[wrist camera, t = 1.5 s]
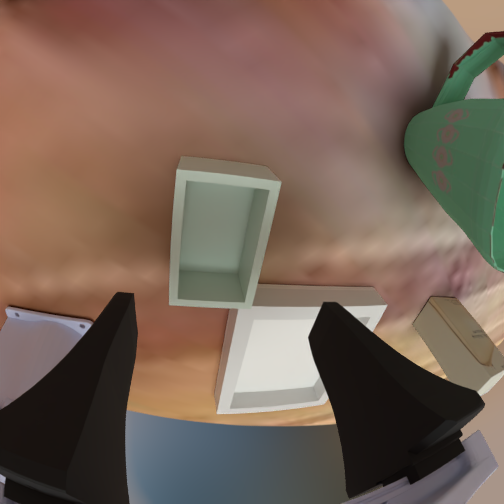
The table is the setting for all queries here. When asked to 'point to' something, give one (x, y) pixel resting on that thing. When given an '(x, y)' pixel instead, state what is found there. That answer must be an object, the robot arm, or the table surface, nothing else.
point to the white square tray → (281, 346)
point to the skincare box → (460, 344)
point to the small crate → (219, 231)
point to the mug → (465, 151)
